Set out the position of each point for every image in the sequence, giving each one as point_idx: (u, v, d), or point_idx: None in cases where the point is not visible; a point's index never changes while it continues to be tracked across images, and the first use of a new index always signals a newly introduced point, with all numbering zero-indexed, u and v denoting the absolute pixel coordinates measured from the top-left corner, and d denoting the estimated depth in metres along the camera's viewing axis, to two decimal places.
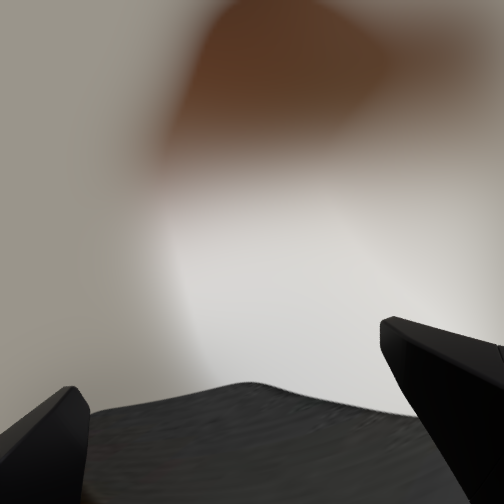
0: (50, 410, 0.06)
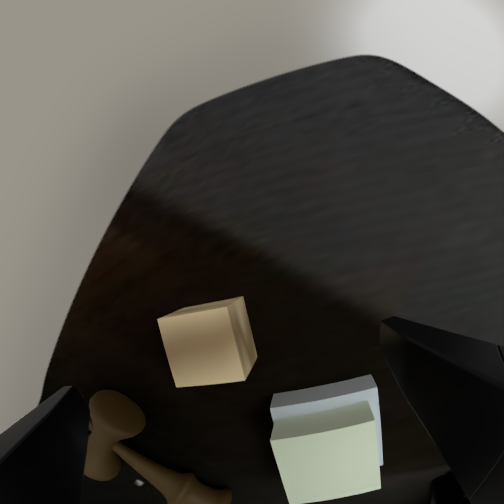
0: (50, 410, 0.06)
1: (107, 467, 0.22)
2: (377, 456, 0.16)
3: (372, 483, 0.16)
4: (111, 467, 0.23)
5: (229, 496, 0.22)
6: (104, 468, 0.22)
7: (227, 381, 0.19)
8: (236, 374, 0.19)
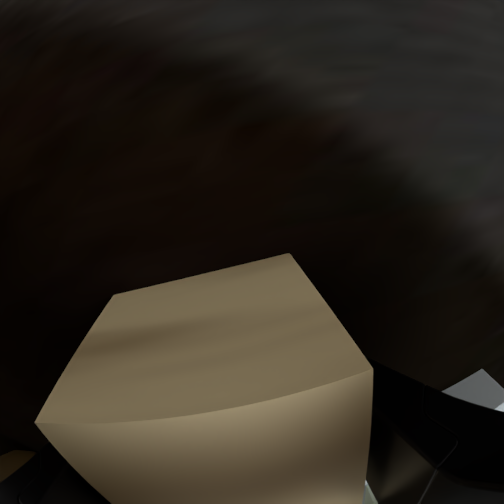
0: None
1: None
2: None
3: None
4: None
5: None
6: None
7: None
8: None
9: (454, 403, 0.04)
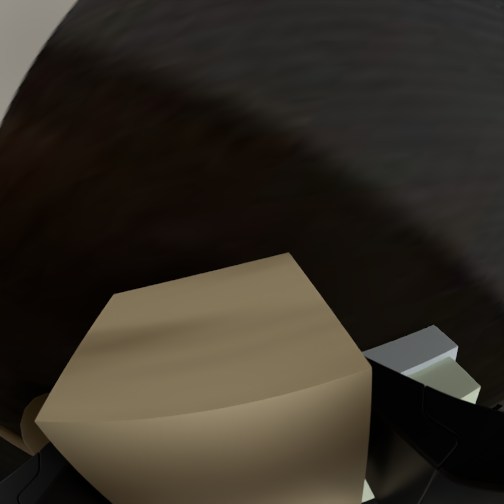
0: None
1: None
2: None
3: None
4: None
5: None
6: None
7: None
8: None
9: (454, 403, 0.04)
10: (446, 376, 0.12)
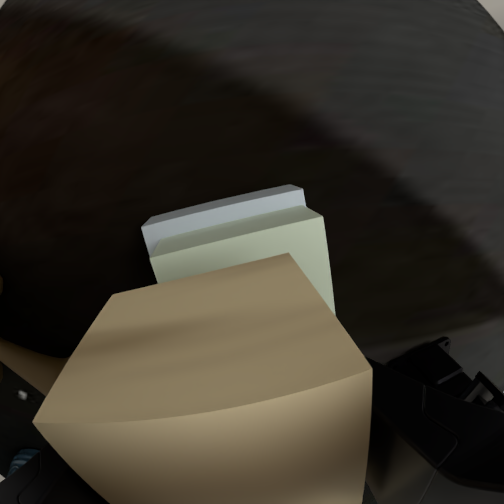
0: None
1: None
2: (330, 291, 0.13)
3: None
4: None
5: None
6: None
7: None
8: None
9: (454, 403, 0.04)
10: (286, 214, 0.14)
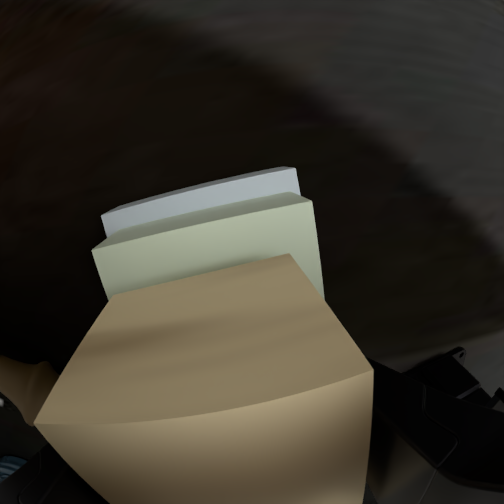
0: None
1: None
2: None
3: None
4: None
5: None
6: None
7: None
8: None
9: (454, 403, 0.04)
10: (267, 200, 0.11)
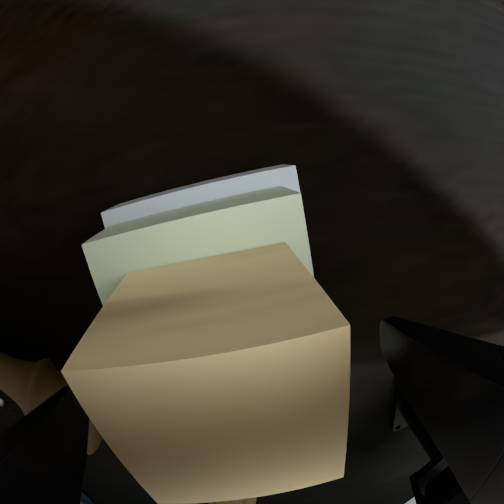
0: (50, 410, 0.06)
1: None
2: None
3: None
4: None
5: None
6: None
7: (299, 488, 0.06)
8: (326, 473, 0.06)
9: None
10: (257, 193, 0.11)
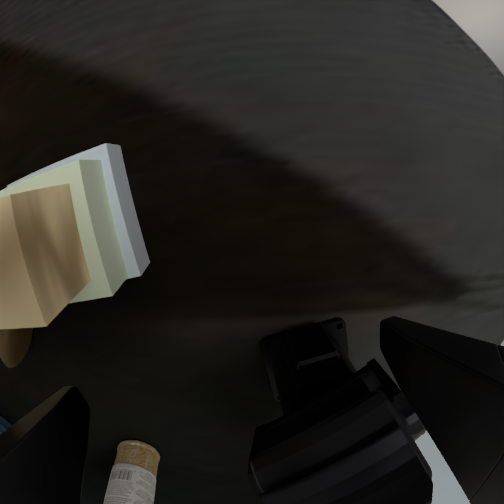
0: (50, 410, 0.06)
1: None
2: (91, 227, 0.14)
3: (97, 282, 0.14)
4: None
5: None
6: None
7: (24, 326, 0.09)
8: (33, 315, 0.09)
9: None
10: None
